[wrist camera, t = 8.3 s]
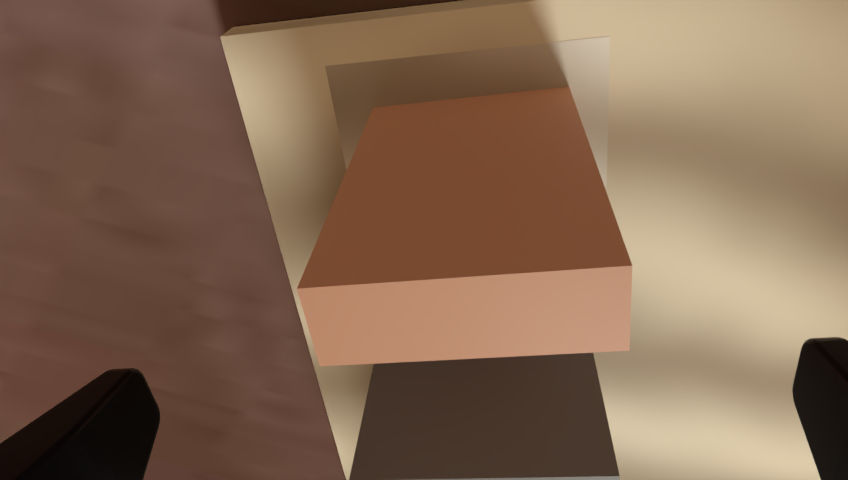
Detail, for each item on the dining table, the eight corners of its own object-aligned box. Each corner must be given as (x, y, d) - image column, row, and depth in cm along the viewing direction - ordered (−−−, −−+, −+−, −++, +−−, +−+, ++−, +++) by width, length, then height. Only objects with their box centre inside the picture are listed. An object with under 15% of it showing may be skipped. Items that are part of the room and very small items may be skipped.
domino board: (906, 566, 26) (921, 590, 25) (379, 564, 29) (376, 587, 28) (1194, -85, 14) (1241, -80, 13) (233, 26, 17) (219, 36, 16)
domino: (569, 287, 19) (617, 530, 12) (404, 296, 20) (363, 532, 13) (569, 241, 18) (619, 475, 12) (396, 253, 19) (349, 480, 12)
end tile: (570, 146, 17) (629, 350, 10) (383, 163, 17) (319, 366, 11) (569, 86, 16) (632, 265, 9) (372, 107, 17) (297, 288, 10)
